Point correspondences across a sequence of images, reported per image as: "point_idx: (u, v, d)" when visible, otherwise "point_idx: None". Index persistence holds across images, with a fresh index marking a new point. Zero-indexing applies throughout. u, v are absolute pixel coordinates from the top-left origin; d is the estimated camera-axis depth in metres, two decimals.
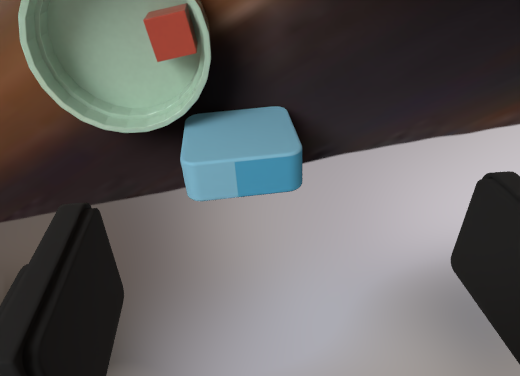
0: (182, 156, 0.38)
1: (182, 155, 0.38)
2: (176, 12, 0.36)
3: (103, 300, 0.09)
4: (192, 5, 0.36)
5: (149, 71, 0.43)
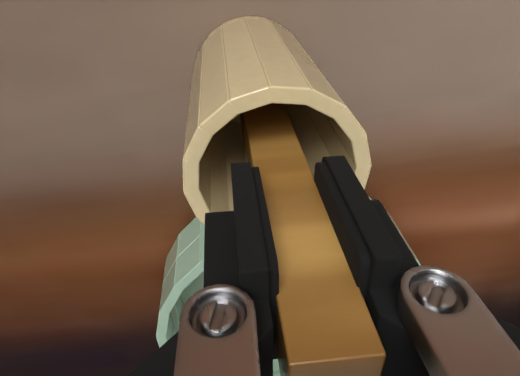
0: None
1: None
2: None
3: None
4: None
5: None
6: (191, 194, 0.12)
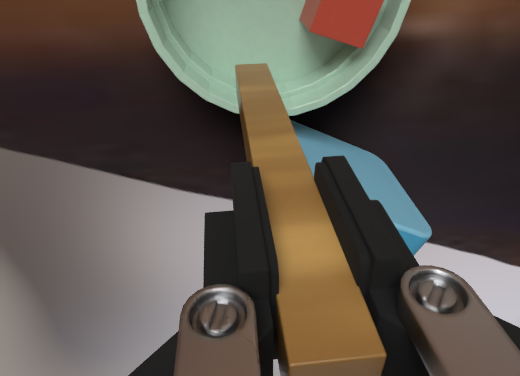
0: None
1: None
2: None
3: None
4: None
5: (266, 35, 0.30)
6: None
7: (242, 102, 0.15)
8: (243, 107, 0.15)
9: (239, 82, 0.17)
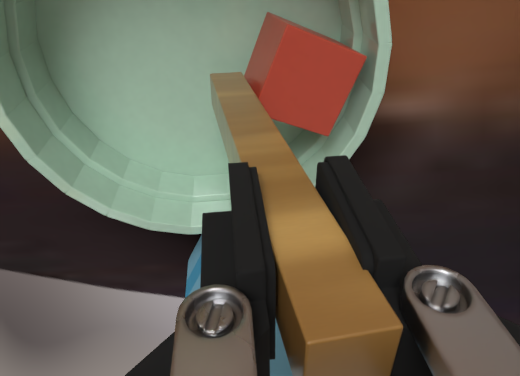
0: None
1: None
2: (351, 51, 0.17)
3: None
4: (376, 81, 0.17)
5: (198, 120, 0.23)
6: None
7: (222, 106, 0.15)
8: (223, 110, 0.15)
9: (216, 88, 0.17)
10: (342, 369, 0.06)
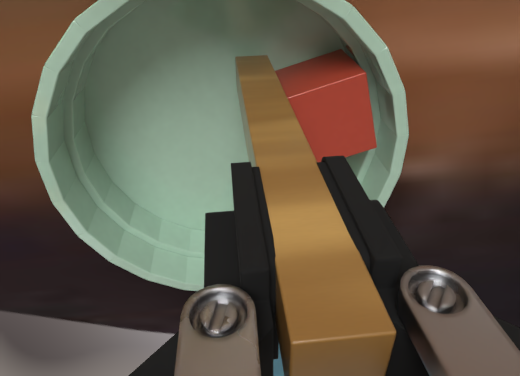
0: None
1: None
2: (373, 133, 0.19)
3: None
4: (394, 165, 0.19)
5: (226, 185, 0.24)
6: None
7: (242, 90, 0.15)
8: (243, 95, 0.14)
9: (239, 72, 0.17)
10: (331, 372, 0.06)
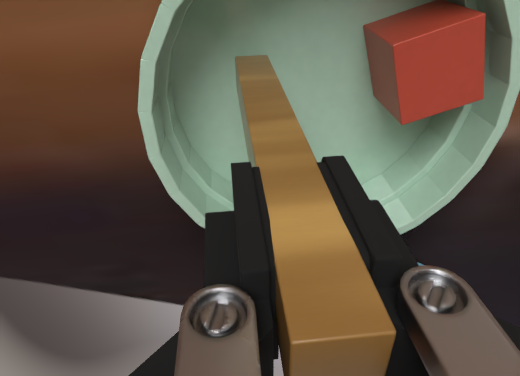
0: None
1: None
2: (482, 83, 0.18)
3: None
4: (502, 117, 0.19)
5: None
6: None
7: (242, 90, 0.15)
8: (243, 95, 0.14)
9: (239, 72, 0.17)
10: (331, 372, 0.06)
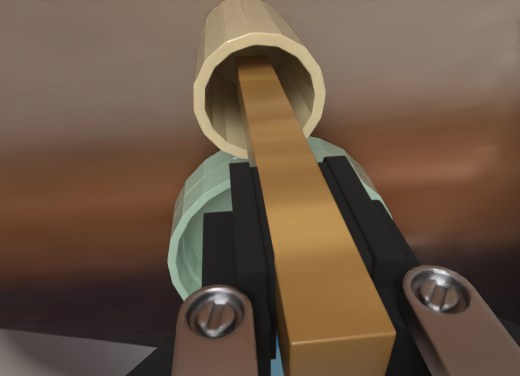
0: None
1: None
2: None
3: None
4: None
5: None
6: (199, 113, 0.17)
7: (242, 90, 0.15)
8: (243, 95, 0.14)
9: (239, 72, 0.17)
10: (331, 373, 0.06)
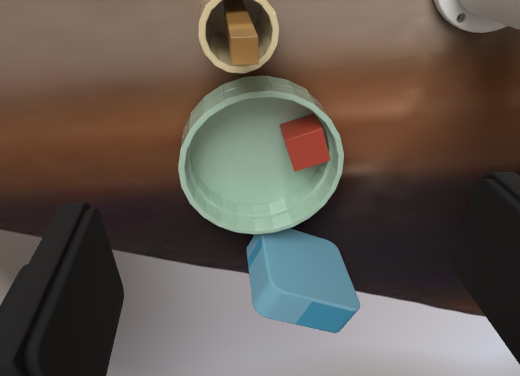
0: (271, 277, 0.42)
1: (270, 276, 0.42)
2: (328, 154, 0.41)
3: (103, 300, 0.09)
4: (338, 168, 0.42)
5: (257, 179, 0.47)
6: (202, 39, 0.28)
7: (224, 5, 0.31)
8: (225, 6, 0.31)
9: (224, 0, 0.33)
10: (242, 51, 0.23)
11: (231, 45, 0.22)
